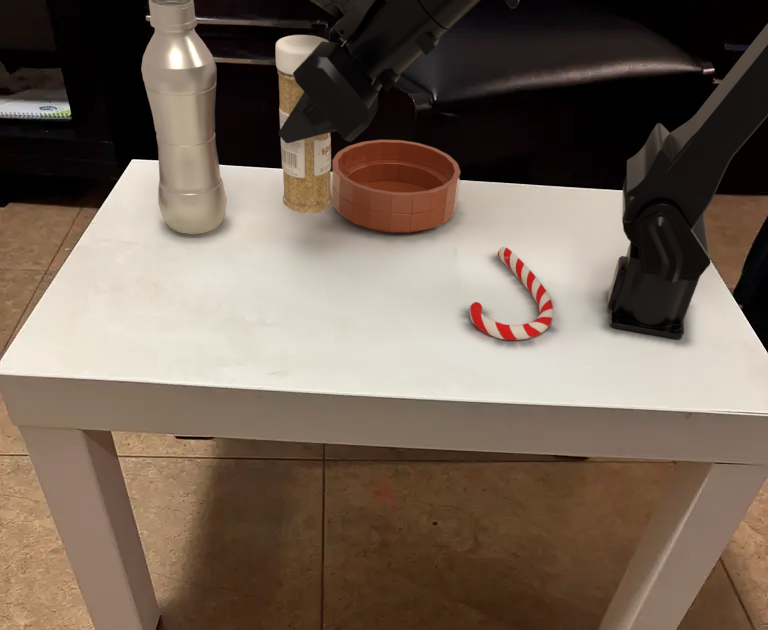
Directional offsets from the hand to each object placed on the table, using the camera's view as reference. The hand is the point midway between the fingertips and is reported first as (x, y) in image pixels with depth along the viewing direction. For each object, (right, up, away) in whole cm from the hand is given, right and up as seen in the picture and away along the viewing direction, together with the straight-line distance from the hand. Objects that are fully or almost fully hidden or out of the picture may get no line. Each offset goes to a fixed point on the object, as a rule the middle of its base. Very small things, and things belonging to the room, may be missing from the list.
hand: (290, 127), depth 71 cm
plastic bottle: (-11, -4, +12) cm, 17 cm away
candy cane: (+19, -13, +6) cm, 24 cm away
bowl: (+9, 0, +18) cm, 20 cm away
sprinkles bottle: (+1, -5, +5) cm, 7 cm away
